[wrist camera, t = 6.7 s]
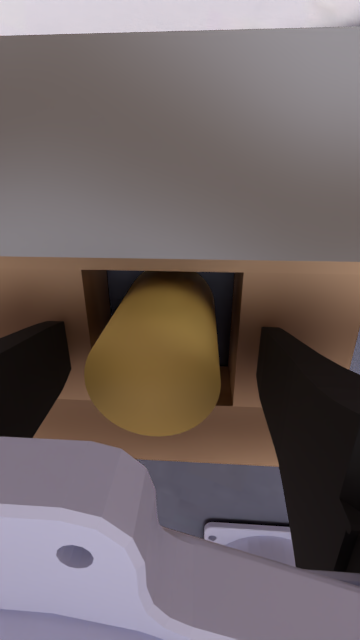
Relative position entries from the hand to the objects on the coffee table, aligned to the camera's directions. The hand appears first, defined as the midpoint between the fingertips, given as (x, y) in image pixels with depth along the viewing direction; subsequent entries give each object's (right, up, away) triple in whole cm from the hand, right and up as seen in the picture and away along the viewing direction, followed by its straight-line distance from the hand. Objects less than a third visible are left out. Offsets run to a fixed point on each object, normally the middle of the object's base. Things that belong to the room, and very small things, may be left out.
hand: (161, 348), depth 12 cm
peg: (0, +2, +3) cm, 3 cm away
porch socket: (0, +2, +3) cm, 4 cm away
